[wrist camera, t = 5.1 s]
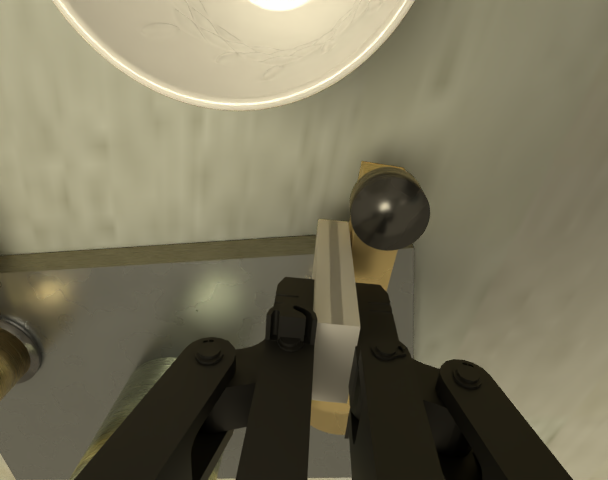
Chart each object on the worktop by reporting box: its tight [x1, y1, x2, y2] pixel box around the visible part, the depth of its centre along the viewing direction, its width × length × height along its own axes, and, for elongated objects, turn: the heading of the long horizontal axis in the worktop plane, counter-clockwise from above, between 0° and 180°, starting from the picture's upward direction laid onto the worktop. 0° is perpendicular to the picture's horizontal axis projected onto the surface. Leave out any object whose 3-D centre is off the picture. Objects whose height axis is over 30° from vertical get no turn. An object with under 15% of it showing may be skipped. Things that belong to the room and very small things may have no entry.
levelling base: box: [0, 235, 414, 480], centre depth 20 cm, size 25×15×11 cm, turn 96°
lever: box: [310, 161, 430, 435], centre depth 17 cm, size 4×11×4 cm, turn 172°
